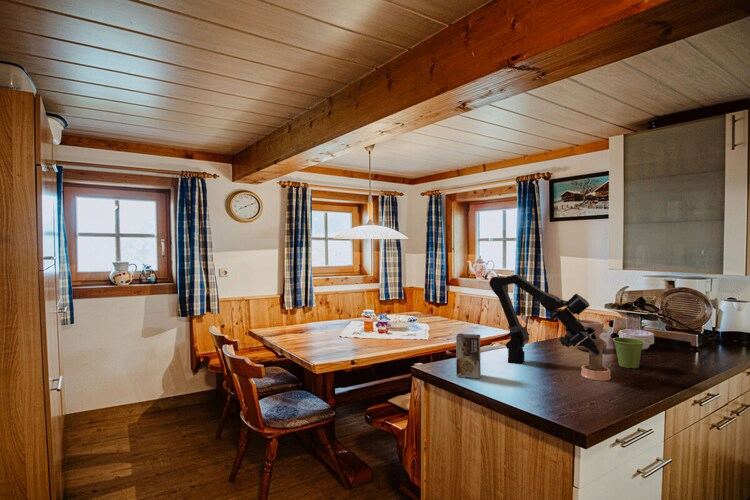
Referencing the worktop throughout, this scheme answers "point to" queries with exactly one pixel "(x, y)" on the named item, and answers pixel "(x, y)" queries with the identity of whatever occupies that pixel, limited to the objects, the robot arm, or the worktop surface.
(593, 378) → the tan shallow dish
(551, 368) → the worktop surface
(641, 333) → the paper bowls
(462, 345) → the coffee box
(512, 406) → the worktop surface
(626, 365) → the plant pot
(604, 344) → the ceramic jug
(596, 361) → the tall square post
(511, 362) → the robot arm
